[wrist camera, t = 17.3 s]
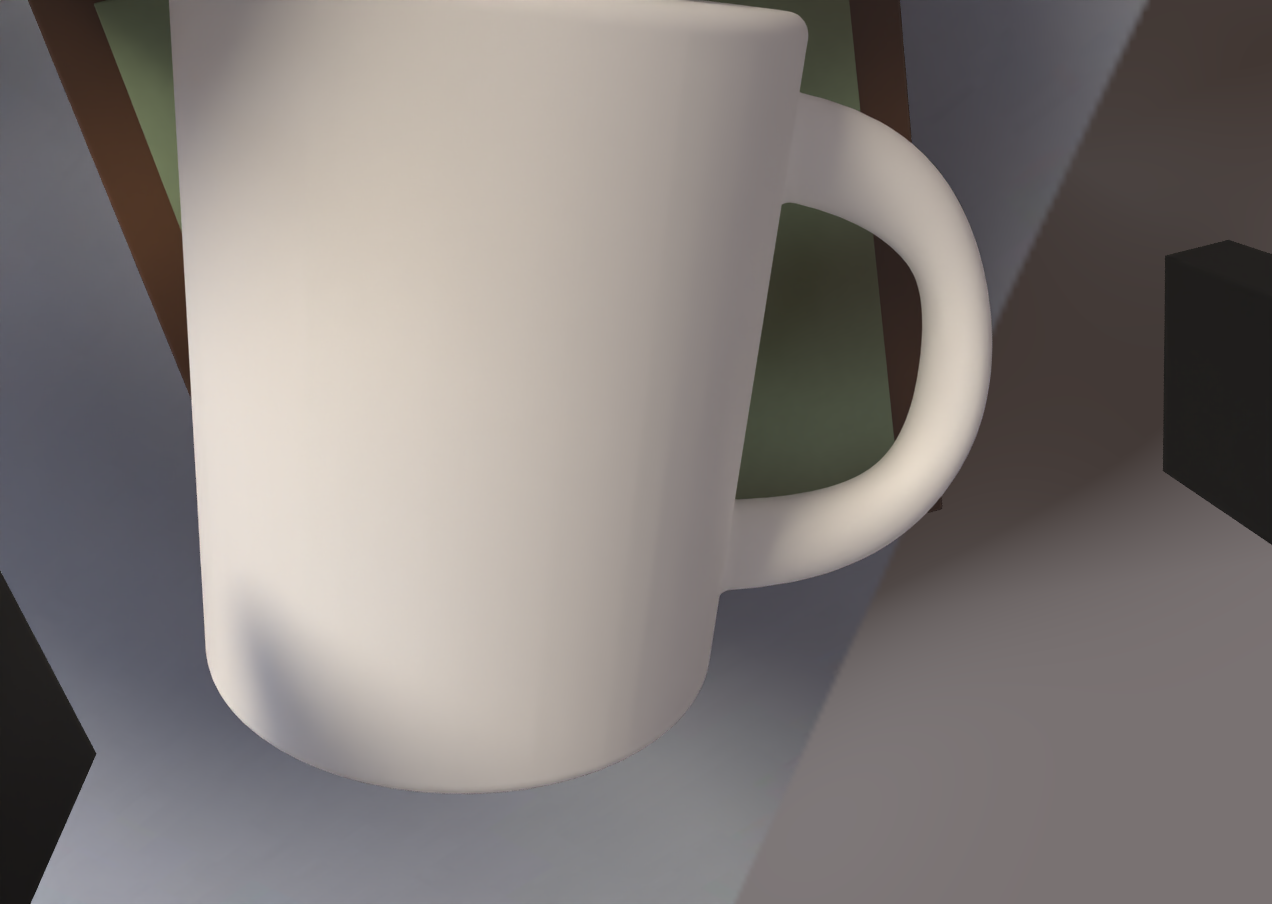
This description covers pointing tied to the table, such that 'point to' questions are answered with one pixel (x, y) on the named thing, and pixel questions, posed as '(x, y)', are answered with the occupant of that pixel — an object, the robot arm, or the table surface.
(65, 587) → the table surface
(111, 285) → the table surface
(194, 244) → the mug
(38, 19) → the small table
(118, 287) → the table surface
